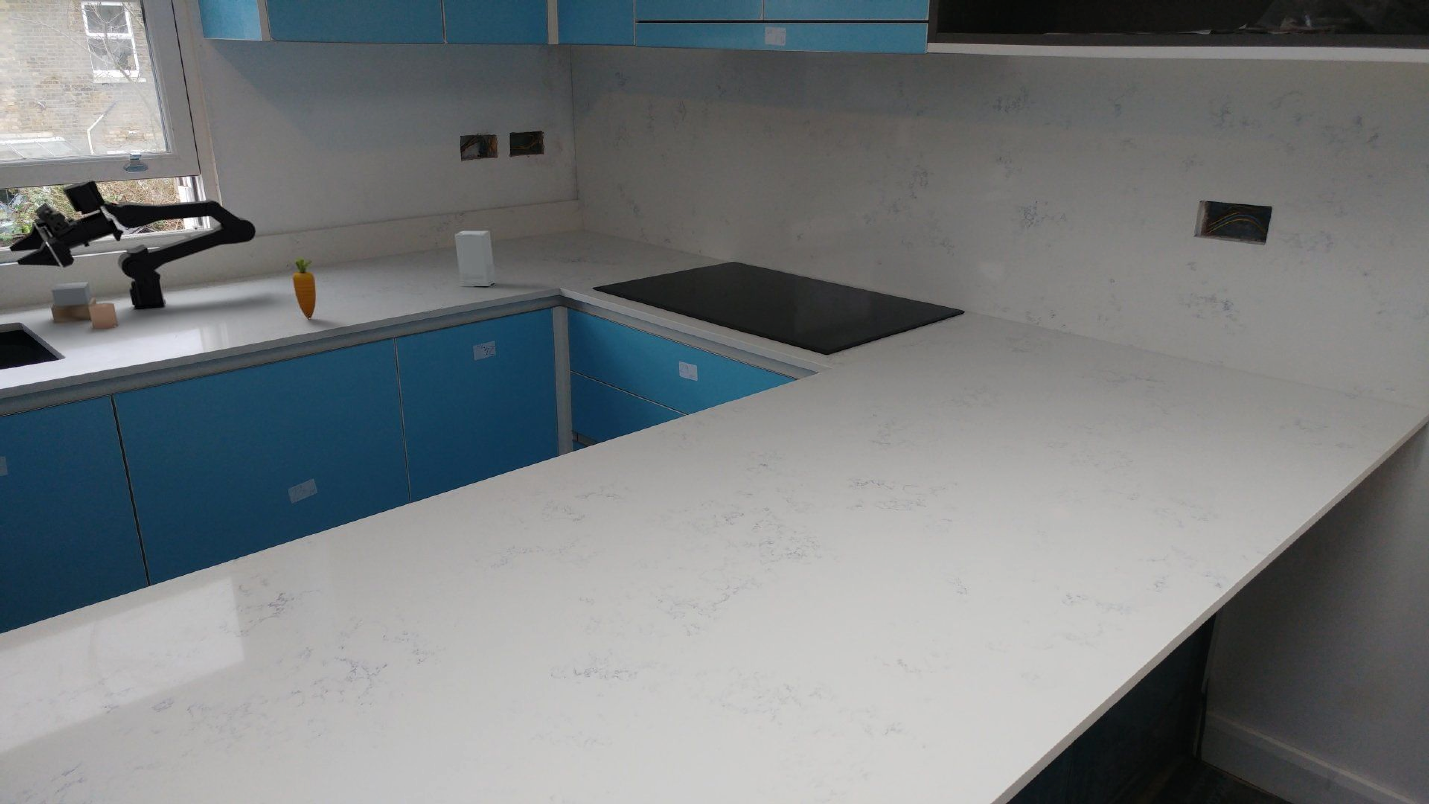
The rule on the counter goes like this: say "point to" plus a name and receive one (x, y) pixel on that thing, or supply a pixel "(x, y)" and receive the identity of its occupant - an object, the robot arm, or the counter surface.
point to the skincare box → (475, 258)
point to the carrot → (305, 288)
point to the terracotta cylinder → (103, 315)
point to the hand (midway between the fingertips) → (13, 256)
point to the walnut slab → (72, 312)
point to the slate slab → (71, 294)
